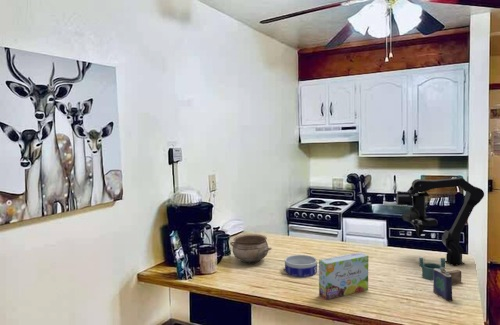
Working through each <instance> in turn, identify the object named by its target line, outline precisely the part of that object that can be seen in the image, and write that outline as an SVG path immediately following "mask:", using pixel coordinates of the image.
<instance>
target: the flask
mask: <svg viewBox="0 0 500 325" xmlns="http://www.w3.org/2000/svg"><path fill="white" fill-rule="evenodd" d="M440 269H441V270H440ZM440 269H437V268H435V269H433V280H432V282H433V286H432V290H433V291H432V292H433V293H434V294H435V295H436V294H437V296H438V297H441V298H442V299H444V300H445V301H447V302H452V301H453V284H452V276H451V275H450V274H449V273H447V271H448V270H446V269H447V267H445V268H440Z"/></svg>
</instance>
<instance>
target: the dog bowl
mask: <svg viewBox="0 0 500 325" xmlns="http://www.w3.org/2000/svg"><path fill="white" fill-rule="evenodd" d="M284 270H285V274H287V275H289V276H291V277H295V278H309V277H313V276H315V275H316V274H318V260H317V258H316V257H315V256H312V255H308V254H293V255H289V256H286V257H285V259H284Z"/></svg>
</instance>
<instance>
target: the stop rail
mask: <svg viewBox="0 0 500 325" xmlns="http://www.w3.org/2000/svg"><path fill="white" fill-rule="evenodd" d="M446 271H447V273H449V274H450V275H451V276H452V285H455V284H462V271H461V270H460V269H454V270H449V271H448V270H446Z"/></svg>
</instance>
